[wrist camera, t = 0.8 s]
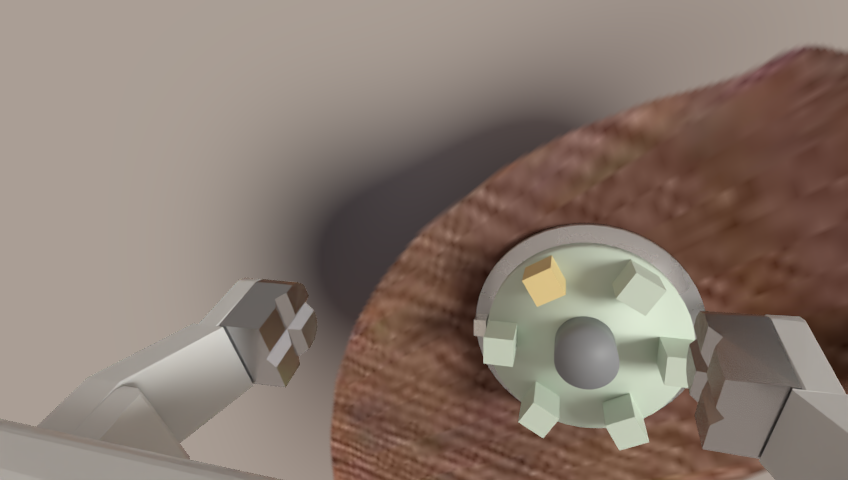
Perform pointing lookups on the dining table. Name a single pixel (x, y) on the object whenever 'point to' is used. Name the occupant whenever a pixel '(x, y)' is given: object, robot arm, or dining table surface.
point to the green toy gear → (589, 340)
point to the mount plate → (584, 235)
